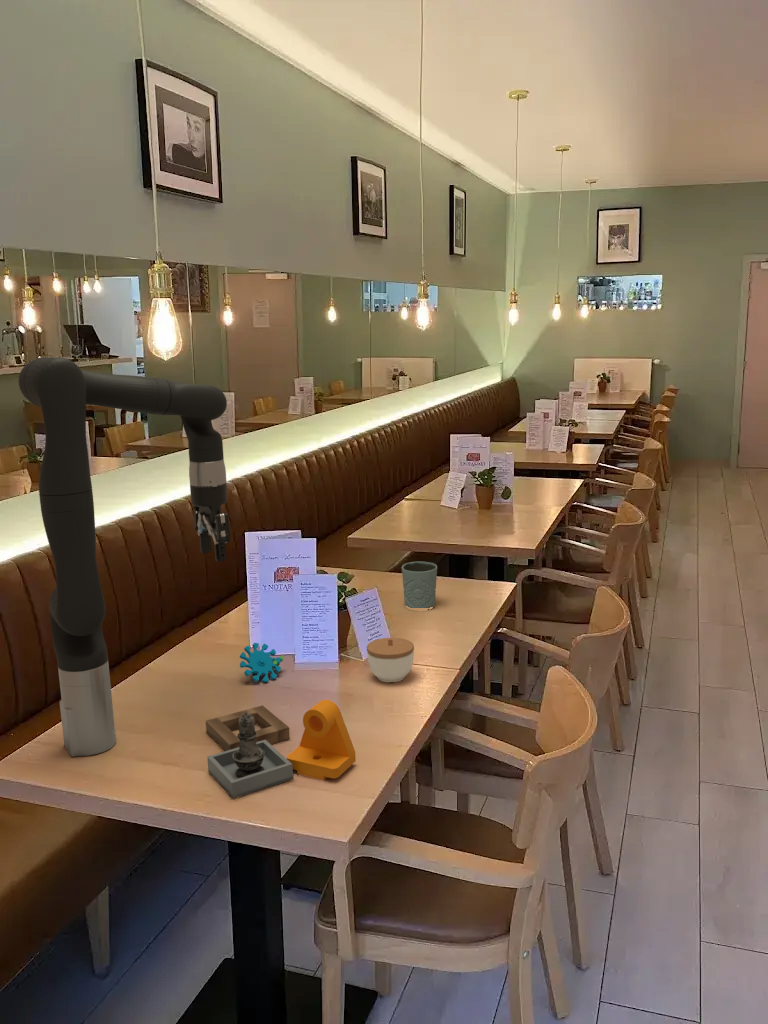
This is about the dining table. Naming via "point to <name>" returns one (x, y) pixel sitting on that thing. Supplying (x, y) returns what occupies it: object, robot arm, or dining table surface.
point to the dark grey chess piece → (248, 748)
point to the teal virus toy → (261, 662)
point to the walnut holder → (226, 724)
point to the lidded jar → (390, 658)
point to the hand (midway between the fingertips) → (213, 556)
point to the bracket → (323, 743)
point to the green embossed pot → (419, 584)
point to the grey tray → (273, 774)
